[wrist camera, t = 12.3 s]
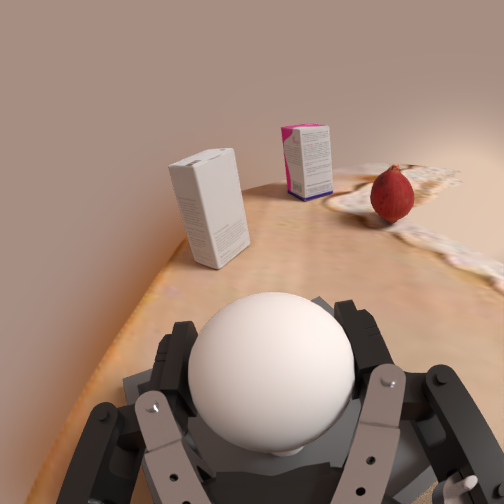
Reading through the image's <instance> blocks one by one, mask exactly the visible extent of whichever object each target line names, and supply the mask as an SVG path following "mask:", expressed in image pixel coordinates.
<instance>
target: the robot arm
mask: <svg viewBox="0 0 504 504" xmlns="http://www.w3.org/2000/svg"><path fill="white" fill-rule="evenodd" d="M334 318H335V320H336V321H337V322H338V323H339V324H340V326H341V327H342V328H343V330H344V332H345V334H346V336H347V338H348V340H349V342H350V344H351V347H352V351H353V355H354V360H355V384H354V389H353V392H352V396H351V398H352V400H355V399H359V400H360V403H361V408H360V412H359V415H358V419H357V422H356V426H355V429H354V432H353V435H352V439H351V442H350V445H349V448H348V450H347V453H346V456H345V458H344V461H343V464H342V467H331V466H330V462H325V463H320V464H314V465H307V466H301V467H298V468H296V469H293V470H290V471H287V472H284V473H281V474H278V475H275V476H268V475H261V474H255V473H249V472H244V471H242V472H216V477H215V475H214V473H213V471H212V470H211V468H210V467H209V466H208V464H207V463H206V461H205V459H204V458H203V456H202V454H201V452H200V450H199V447H198V445H197V443H196V441H195V439H194V437H193V435H192V433H191V431H190V428H189V427H188V417H197V409H196V407H195V405H194V403H193V399H192V396H191V392H190V388H189V383H188V366H189V358H190V354H191V350H192V348H193V345H194V343H195V341H196V339H197V337H198V333H197V331H196V328H195V326H194V323H193V322H192V321H184V322H175V324H174V327H173V331H172V334H166V335H165V336H164V337H163V339H162V340H161V341H160V343H159V346H158V350H157V355H156V357H155V362H154V365H153V369H152V373H151V377H150V382H149V386H148V390H147V392H146V393H144V394H142V395H141V396H140V397H139V398H138V399H137V401H136V403H135V404H132V405H128V406H124V407H120V408H116V407H115V406H114V405H113V404H111V403H109V402H103V403H100V404H98V405H96V406H95V407H94V408H93V410H92V411H91V413H90V416H89V418H88V420H87V423H86V425H85V427H84V430H83V432H82V435H81V437H80V439H79V442H78V444H77V447H76V449H75V452H74V455H73V457H72V460H71V462H70V465H69V468H68V471H67V473H66V476H65V479H64V482H63V484H62V487H61V490H60V493H59V496H58V499H57V502H56V504H130V500H131V497H132V493H133V490H134V486H135V483H136V479H137V476H138V472H139V469H140V466H141V462H142V459H143V455H144V452H145V449H146V448H147V452H145V460H146V463H147V466H148V468H149V471H150V474H151V477H152V479H153V482H154V484H155V487H156V489H157V492H158V494H159V497H160V499H161V501H162V504H401V503H400V502H398V501H397V500H395V499H394V498H392V497H391V496H389V495H388V494H387V493H385V489H386V486H387V483H388V480H389V476H390V473H391V469H392V465H393V461H394V458H395V453H396V449H397V445H398V441H399V436H400V428H399V420H409V421H410V423H411V425H412V427H413V429H414V431H415V433H416V435H417V437H418V439H419V441H420V443H421V445H422V447H423V449H424V452H425V454H426V456H427V458H428V460H429V462H430V464H431V467H432V469H433V471H434V473H435V476H436V478H437V480H438V482H439V484H438V485H437V486H436V487H435V489H434V491H433V494H432V502H433V504H504V453H503V451H502V449H501V448H500V446H499V444H498V442H497V440H496V438H495V436H494V435H493V433H492V431H491V429H490V427H489V426H488V424H487V422H486V421H485V419H484V417H483V415H482V414H481V412H480V410H479V409H478V407H477V405H476V404H475V402H474V401H473V399H472V397H471V396H470V394H469V393H468V391H467V389H466V388H465V386H464V385H463V383H462V382H461V380H460V379H459V377H458V376H457V374H456V373H455V371H454V370H453V369H452V368H450V367H449V366H447V365H435V366H433V367H431V368H430V369H429V370H428V372H427V373H409V372H405V371H403V370H402V369H401V368H400V367H398V366H396V365H395V364H394V362H393V360H392V358H391V356H390V353H389V351H388V349H387V346H386V344H385V342H384V340H383V337H382V335H381V333H380V331H379V328H378V327H377V324H376V322H375V320H374V317H373V316H372V315H371V314H370V313H369V312H367V311H366V310H365V309H363V310H358V311H357V309H356V307H355V305H354V302H353V301H352V300H346V301H341V302H335V305H334Z"/></svg>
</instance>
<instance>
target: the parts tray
mask: <svg viewBox="0 0 504 504" xmlns="http://www.w3.org/2000/svg"><path fill="white" fill-rule="evenodd" d="M311 302H313V303H315V304H317V305H319V306H320V307H321V308H323V309H324V310H325V311H327V312H328V313H329V314H330V315H331V316H332V317H334V309H333V308H332V307H331V306H330V305H329V304H328V303H326V302H325V301H324V300H323V299H322V298H321V297H320V296H319V297H317V298H315V299H313V300H311ZM152 369H153V368H152ZM152 369H149V370H147V371H144V372H141V373H138V374H135V375H132V376H130V377H127V378H124V379H123V384H124V390H125V396H126V401H127V406H128V405H132V404H135V403H136V401H137V399H138V398H139V397H140V396H141V395H142V394H144V393H146V392H147V390H148V386H149V382H150V377H151V373H152ZM360 408H361V403H360V400H359V399H355V400H352V398H351V399H350V402H349V404H348V406H347V408H346V410H345V411H344V413H343V415H342V416H341V417H340V419H339V420H338V421H337V422H336V423H335V424H334V425H333V426H332V427H331V428H330V429H329V430H328V431H327V432H326V433H325V434H324V435H322V436H321V437H320V438H318V439H317V440H315V441H314V442H312V443H310V444H307V445H305V446H304V447H303V448H302V450H300V451H299V452H298V453H296V454H294V455H292V456H288V457H280V456H276V455H273V454H272V453H263V452H257V451H251V450H247V449H245V448H242V447H239V446H237V445H234V444H232V443H230V442H228V441H226V440H225V439H223V438H222V437H220V436H219V435H217V434H216V433H215V432H214V431H213V430H212V429H211V428H210V427H209V426H208V425H207V424H206V423H205V422H204V420H203V419H202V417H201V416H200V414H199V413H198V411H197V417H188V427H189V428H190V431H191V433H192V435H193V437H194V439H195V441H196V443H197V445H198V447H199V450H200V452H201V454H202V456H203V458H204V459H205V461H206V463H207V464H208V466H209V467H210V468H211V470H212V471H213V473H214V475H215V477H216V472H242V471H244V472H249V473H255V474H261V475H268V476H275V475H278V474H281V473H284V472H287V471H290V470H293V469H296V468H298V467H301V466H307V465H314V464H320V463H325V462H330V466H331V467H342V464H343V461H344V458H345V456H346V453H347V450H348V448H349V445H350V442H351V439H352V435H353V432H354V429H355V426H356V422H357V419H358V415H359V412H360ZM399 428H400V436H399V441H398V445H397V449H396V453H395V458H394V461H393V465H392V469H391V473H390V476H389V480H388V483H387V486H386V489H385V493H387V494H388V495H389V496H391V497H392V498H394V499H395V500H397V501H398V502H400V503H401V504H411V503H412V502H413V501H414V500H415V499H417V498H418V497H419V496H420V495H421V494H422V493H423V492H425V491H426V490H427V489H428V488H429V487H430V486H431V485H432V484H433V483H434V482H435V481H436V480H437V478H436V476H435V473H434V471H433V469H432V467H431V464H430V462H429V460H428V458H427V456H426V454H425V452H424V449H423V447H422V445H421V443H420V441H419V439H418V437H417V435H416V433H415V431H414V429H413V427H412V425H411V423H410V421H409V420H399ZM145 452H147V448H146V449H145ZM145 452H144V455H143V459H142V462H141V464H142V467H143V471H144V474H145V477H146V480H147V483H148V486H149V489H150V492H151V495H152V498H153V501H154V504H162V501H161V499H160V497H159V494H158V492H157V489H156V487H155V484H154V482H153V479H152V477H151V474H150V471H149V468H148V466H147V463H146V460H145Z"/></svg>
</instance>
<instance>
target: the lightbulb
mask: <svg viewBox="0 0 504 504" xmlns="http://www.w3.org/2000/svg"><path fill="white" fill-rule="evenodd" d="M188 383H189V388H190V392H191V396H192V399H193V403H194V405H195V407H196V409H197V411H198V413H199V414H200V416H201V417H202V419H203V420H204V422H205V423H206V424H207V425H208V426H209V427H210V428H211V429H212V430H213V431H214V432H215V433H216V434H217V435H219V436H220V437H222V438H223V439H225V440H226V441H228V442H230V443H232V444H234V445H237V446H239V447H242V448H245V449H247V450H251V451H257V452H263V453H272V454H273V455H276V456H280V457H288V456H292V455H294V454H296V453H298V452H299V451H300V450H302V448H303V447H304V446H305V445H307V444H310V443H312V442H314V441H315V440H317V439H318V438H320V437H321V436H322V435H324V434H325V433H326V432H327V431H328V430H329V429H330V428H331V427H332V426H333V425H334V424H335V423H336V422H337V421H338V420H339V419H340V417H341V416H342V415H343V413H344V411H345V410H346V408H347V406H348V404H349V402H350V399H351V396H352V392H353V389H354V384H355V360H354V355H353V351H352V347H351V344H350V342H349V340H348V338H347V336H346V334H345V332H344V330H343V328H342V327H341V326H340V324H339V323H338V322H337V321H336V320H335V318H334V317H332V316H331V315H330V314H329V313H328V312H327V311H325V310H324V309H323V308H321V307H320V306H319V305H317V304H315V303H313V302H311V301H309V300H307V299H305V298H302V297H299V296H296V295H293V294H288V293H281V292H267V293H258V294H254V295H249V296H246V297H243V298H240V299H238V300H236V301H234V302H232V303H230V304H228V305H227V306H225V307H224V308H222V309H221V310H219V311H218V312H217V313H216V314H215V315H214V316H213V317H212V318H211V319H210V320H209V321H208V322H207V323H206V325H205V326H204V327H203V329H202V330H201V331H200V333H199V335H198V337H197V339H196V341H195V343H194V345H193V348H192V350H191V354H190V358H189V366H188Z"/></svg>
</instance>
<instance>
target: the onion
mask: <svg viewBox="0 0 504 504" xmlns="http://www.w3.org/2000/svg"><path fill="white" fill-rule="evenodd" d="M370 199H371V204H372V206H373V208H374V210H375V211H376V212H377V213H378V215H379V216H381V217H382V218H384V219H385V220H387V221H388V222H389V223H395V222H396V221H397V220H399V219H401V218H403V217H404V216H406V215H407V214H408V213H409V212H410V210H411V209H412V207H413V204H414V192H413V189H412V186H411V184H410V182H409V181H408V180H407V178H406V177H405V176H404V175H402V174H401V173H400V172H399V166H398V165H397V164H393V165H392V166H391V167H390V168H389V169H388V170H387V171H385V172H383V173H382V174H380V175H379V176H378V178H377V179H376V180H375V182H374V183H373V186H372V190H371V195H370Z"/></svg>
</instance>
